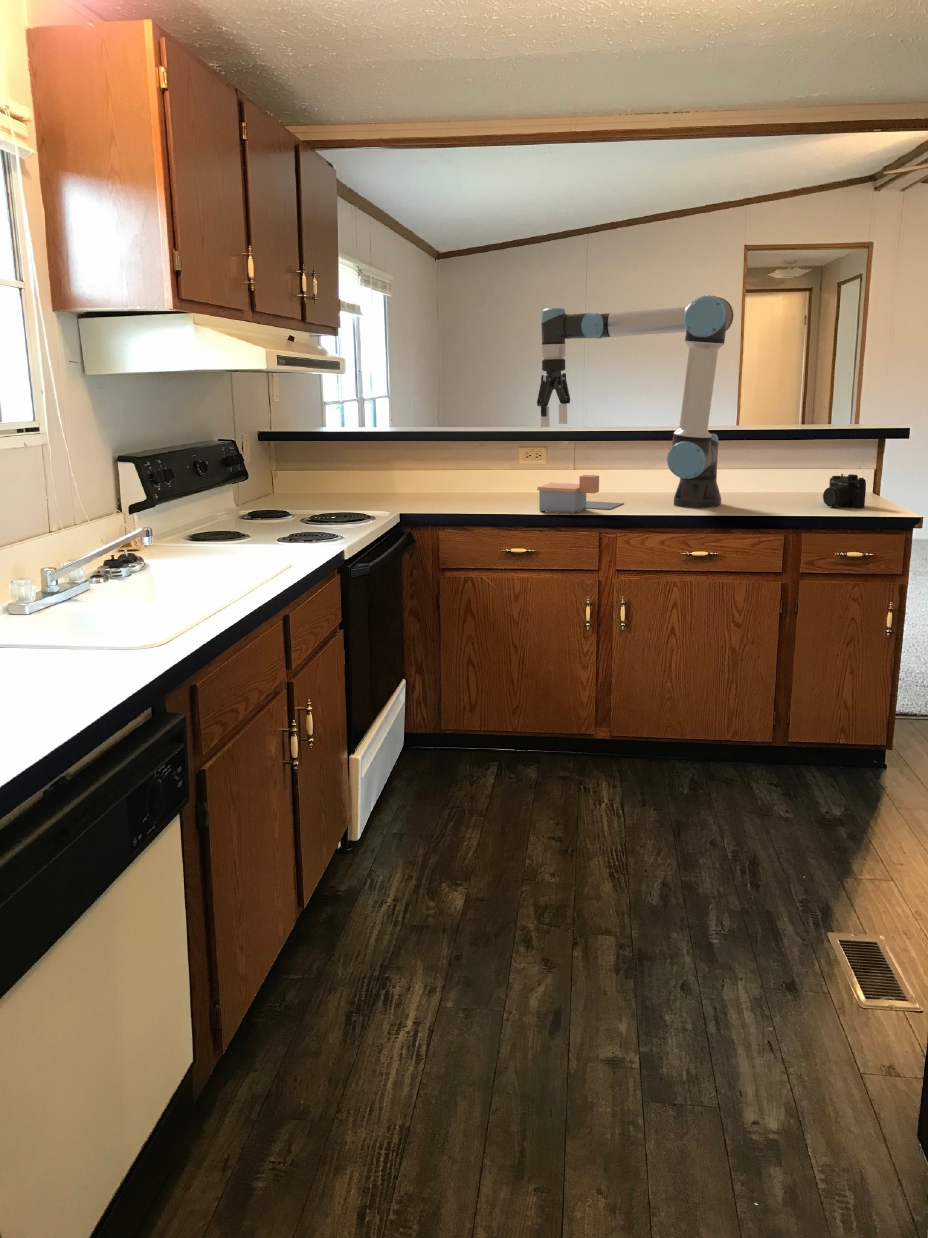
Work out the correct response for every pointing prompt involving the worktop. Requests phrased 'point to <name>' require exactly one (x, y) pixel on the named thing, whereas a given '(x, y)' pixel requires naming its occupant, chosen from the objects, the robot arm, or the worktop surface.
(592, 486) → the lid
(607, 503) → the mat
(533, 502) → the worktop surface
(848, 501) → the camera
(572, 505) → the tub
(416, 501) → the worktop surface
